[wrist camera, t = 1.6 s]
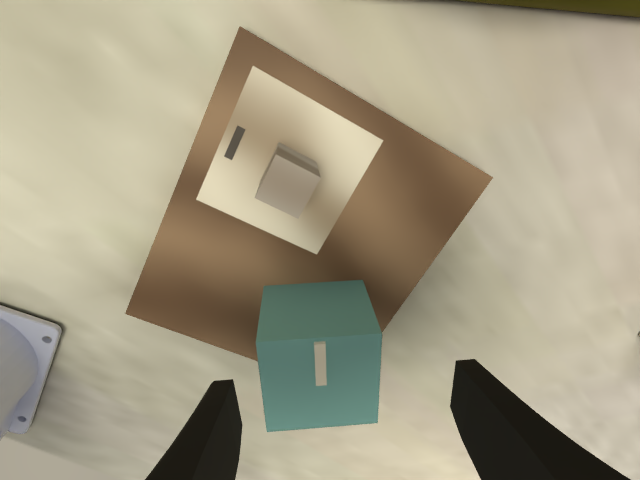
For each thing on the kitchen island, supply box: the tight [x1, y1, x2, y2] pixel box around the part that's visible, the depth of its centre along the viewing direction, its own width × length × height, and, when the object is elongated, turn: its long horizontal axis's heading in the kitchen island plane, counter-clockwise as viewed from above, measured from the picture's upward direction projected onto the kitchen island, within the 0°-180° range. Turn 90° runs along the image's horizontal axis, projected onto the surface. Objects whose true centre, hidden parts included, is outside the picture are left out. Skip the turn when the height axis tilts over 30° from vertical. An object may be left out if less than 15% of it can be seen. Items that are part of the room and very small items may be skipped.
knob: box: [256, 280, 382, 432], centre depth 19 cm, size 6×6×5 cm
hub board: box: [125, 27, 493, 361], centre depth 18 cm, size 16×14×4 cm
